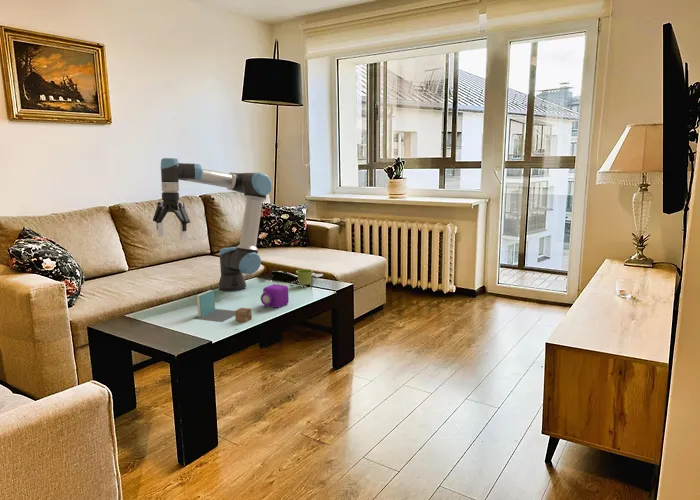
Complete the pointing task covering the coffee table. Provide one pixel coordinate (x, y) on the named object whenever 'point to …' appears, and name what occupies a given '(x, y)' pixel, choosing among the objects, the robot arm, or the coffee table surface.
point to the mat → (217, 315)
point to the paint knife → (315, 275)
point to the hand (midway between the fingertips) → (171, 237)
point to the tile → (205, 303)
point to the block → (243, 315)
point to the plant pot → (304, 276)
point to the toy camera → (275, 296)
